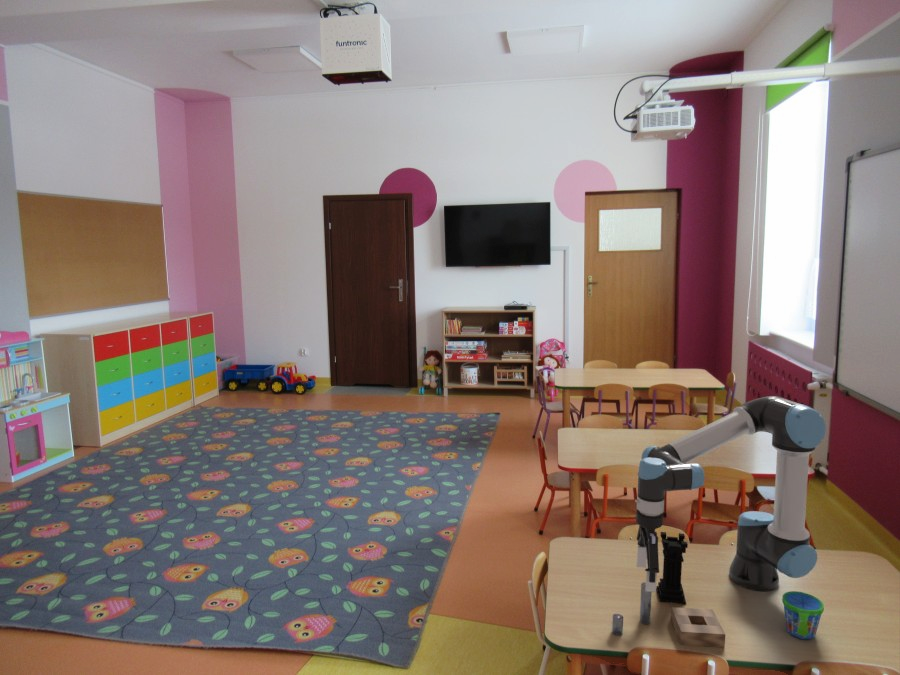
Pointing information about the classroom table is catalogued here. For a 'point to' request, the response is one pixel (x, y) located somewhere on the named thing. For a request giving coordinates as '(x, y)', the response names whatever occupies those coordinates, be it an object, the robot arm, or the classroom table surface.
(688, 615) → the hole block
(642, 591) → the long pin
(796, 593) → the snack cup
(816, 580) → the classroom table surface
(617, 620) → the short pin
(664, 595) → the chess piece
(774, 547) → the robot arm
